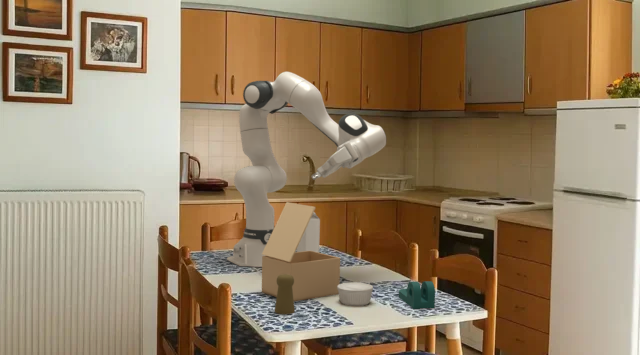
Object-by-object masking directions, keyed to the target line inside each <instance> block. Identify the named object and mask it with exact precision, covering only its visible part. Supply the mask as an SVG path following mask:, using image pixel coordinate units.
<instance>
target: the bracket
mask: <svg viewBox="0 0 640 355" xmlns="http://www.w3.org/2000/svg"><path fill="white" fill-rule="evenodd" d="M398 298H399V299H400V300H402V301H403V302H404V303H406V304H407V305H408V306H409V308H410V307H411V309H413V310H421V309H420V308H435V307H436V306H435V305H436V288H435V284H434V282H433V281H429V280H427V281H426V280H425V281H424V280H423V281H422V283H421V284H420V282H419V281H409V282H408V284H407V288H402V289H401V288H400V289H399V290H398Z"/></svg>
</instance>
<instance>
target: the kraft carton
mask: <svg viewBox="0 0 640 355" xmlns="http://www.w3.org/2000/svg"><path fill="white" fill-rule="evenodd" d="M283 274H288V275H292V276H293V278H294V284H293V286H292V290H293V299H294V303H295V302H299V301H304V300H312V299H317V298H323V297H328V296H336V295H339V293H338V289H337V286H338V285H339V284H341V257H338V256H334V255H330V254H326V253H322V252H319V253H318V252H314V251H302V252H297V251H295V254H294V256H293V258H292V260H291V262H287V261H284V260H280V259H277V258H273V257H269V256H262V267H261V293H263V294H266V295H269V296H272V297H275V298H277V292H278V285H277V277H278V276H279V275H283Z"/></svg>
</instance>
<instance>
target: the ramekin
mask: <svg viewBox="0 0 640 355" xmlns="http://www.w3.org/2000/svg"><path fill="white" fill-rule="evenodd" d="M337 289H338V293H339V294H338V298H339V302H340V303H341V304H343V305H346V306H351V307H353V306H354V307H359V306H360V307H361V306H366V305H368V304H369V303H371V299H372V295H373V294H372V293H373V291H374V287H373V285H371V284H368V283H365V282H355V281H354V282H351V281H350V282H344V283H340V284H339V285H338V286H337Z"/></svg>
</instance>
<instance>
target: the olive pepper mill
mask: <svg viewBox="0 0 640 355" xmlns="http://www.w3.org/2000/svg"><path fill="white" fill-rule="evenodd" d="M293 284H294V278H293V276H292V275H288V274H283V275H279V276H278V277H277V285H278V292H277V297H275V298H276V299H275V307H274V313H276V314H279V315H291V314H295V313H296V310H295V302H294V299H293V290H292V286H293Z"/></svg>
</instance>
